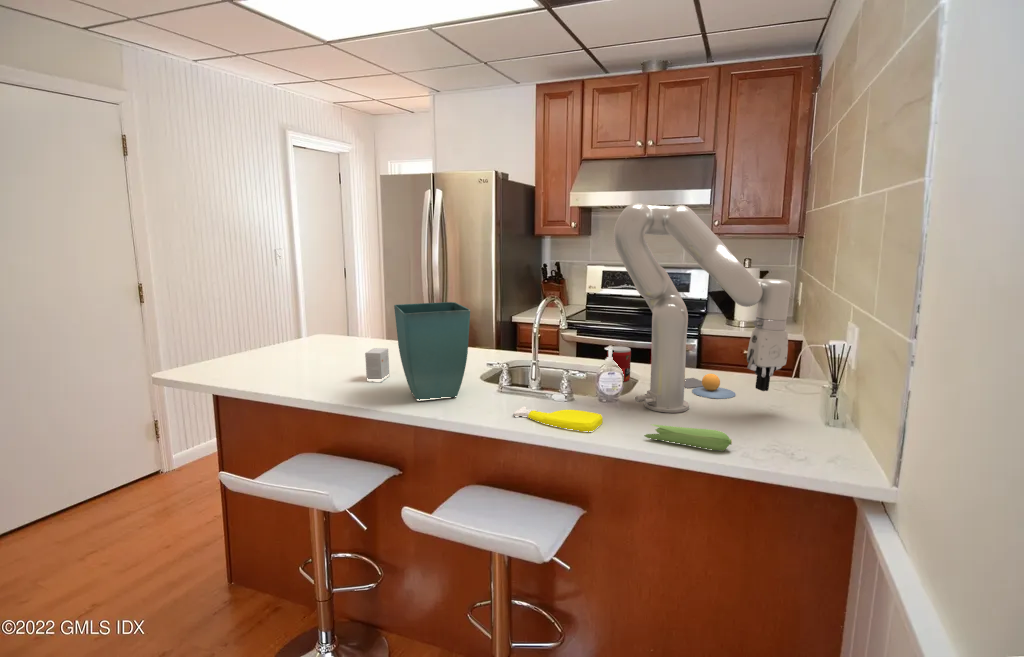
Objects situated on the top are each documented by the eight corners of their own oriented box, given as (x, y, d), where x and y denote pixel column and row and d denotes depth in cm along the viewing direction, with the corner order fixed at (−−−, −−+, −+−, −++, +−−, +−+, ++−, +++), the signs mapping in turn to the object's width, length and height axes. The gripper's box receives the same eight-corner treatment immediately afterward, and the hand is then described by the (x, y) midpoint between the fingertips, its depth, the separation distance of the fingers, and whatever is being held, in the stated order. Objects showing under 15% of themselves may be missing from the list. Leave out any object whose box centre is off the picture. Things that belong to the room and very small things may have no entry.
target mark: (709, 400, 167) (709, 400, 167) (683, 389, 179) (683, 388, 179) (744, 396, 171) (744, 395, 171) (717, 385, 183) (717, 385, 183)
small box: (375, 376, 199) (373, 347, 197) (390, 376, 198) (388, 348, 197) (366, 382, 191) (364, 352, 190) (381, 382, 191) (380, 352, 189)
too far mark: (686, 388, 180) (686, 388, 180) (668, 380, 189) (668, 380, 189) (712, 385, 183) (712, 385, 183) (693, 378, 192) (693, 377, 192)
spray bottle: (590, 436, 140) (506, 422, 152) (605, 423, 149) (525, 411, 161) (590, 425, 139) (506, 411, 152) (605, 412, 149) (525, 401, 161)
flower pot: (473, 400, 169) (471, 309, 164) (407, 408, 163) (403, 312, 158) (456, 384, 188) (454, 301, 183) (397, 390, 181) (393, 304, 176)
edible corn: (729, 439, 125) (732, 427, 129) (642, 427, 134) (647, 417, 138) (730, 457, 127) (732, 445, 131) (643, 445, 137) (648, 434, 140)
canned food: (630, 382, 188) (630, 351, 186) (606, 381, 189) (606, 350, 187) (629, 377, 195) (630, 346, 193) (606, 376, 197) (607, 345, 195)
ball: (697, 375, 180) (700, 392, 179) (706, 373, 174) (709, 390, 173) (712, 373, 181) (715, 390, 180) (721, 371, 176) (725, 388, 175)
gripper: (758, 327, 144) (749, 395, 148) (802, 327, 149) (793, 392, 152) (738, 322, 151) (730, 387, 155) (781, 322, 156) (772, 384, 159)
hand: (761, 389), depth 154 cm, fingers closed
